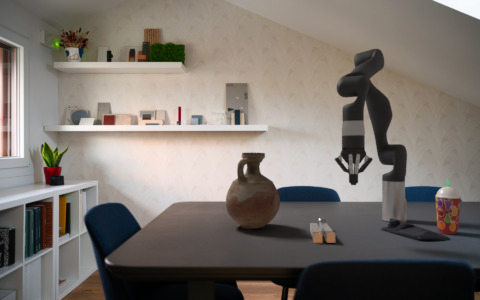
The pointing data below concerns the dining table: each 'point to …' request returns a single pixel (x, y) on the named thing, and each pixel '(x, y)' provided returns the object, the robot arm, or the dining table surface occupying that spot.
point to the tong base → (316, 231)
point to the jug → (252, 194)
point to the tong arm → (327, 232)
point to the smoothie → (447, 209)
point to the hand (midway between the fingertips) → (353, 184)
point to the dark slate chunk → (412, 231)
